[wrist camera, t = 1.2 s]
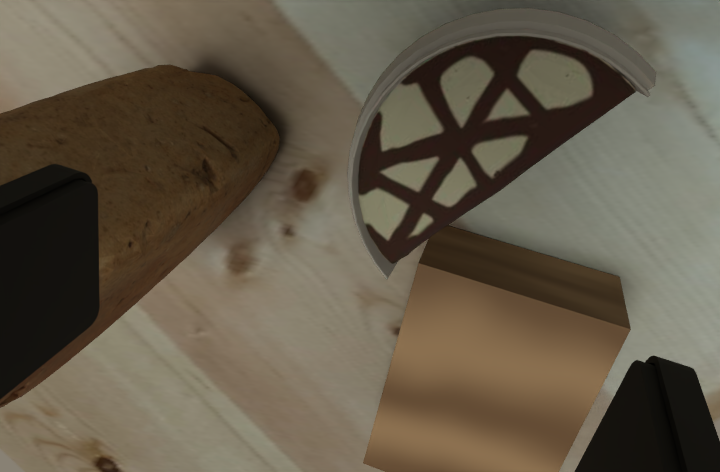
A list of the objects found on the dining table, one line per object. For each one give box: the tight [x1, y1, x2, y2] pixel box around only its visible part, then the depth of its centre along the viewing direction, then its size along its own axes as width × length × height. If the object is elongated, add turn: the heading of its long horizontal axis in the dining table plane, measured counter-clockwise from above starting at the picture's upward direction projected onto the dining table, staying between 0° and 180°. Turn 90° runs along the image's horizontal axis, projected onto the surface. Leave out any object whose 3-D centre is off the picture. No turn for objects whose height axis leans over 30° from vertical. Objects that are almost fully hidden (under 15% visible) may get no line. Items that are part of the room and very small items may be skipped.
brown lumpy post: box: [0, 65, 280, 408], centre depth 27 cm, size 11×8×20 cm
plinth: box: [363, 226, 631, 472], centre depth 33 cm, size 14×10×5 cm
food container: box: [347, 8, 656, 279], centre depth 25 cm, size 12×6×10 cm, turn 133°
